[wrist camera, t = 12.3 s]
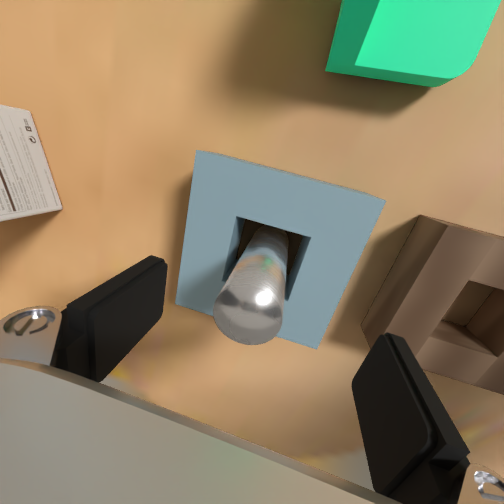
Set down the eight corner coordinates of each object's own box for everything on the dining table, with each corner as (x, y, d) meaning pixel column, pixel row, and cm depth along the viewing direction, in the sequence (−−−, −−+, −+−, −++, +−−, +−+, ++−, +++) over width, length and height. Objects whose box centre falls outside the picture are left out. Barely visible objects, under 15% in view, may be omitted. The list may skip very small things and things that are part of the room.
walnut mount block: (571, 255, 17) (636, 276, 14) (479, 362, 21) (513, 397, 18) (420, 214, 18) (448, 225, 15) (360, 325, 22) (372, 353, 19)
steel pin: (293, 230, 20) (291, 297, 10) (282, 262, 21) (271, 353, 11) (257, 220, 20) (219, 275, 10) (249, 252, 21) (207, 332, 11)
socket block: (364, 192, 18) (386, 200, 14) (312, 315, 22) (316, 349, 18) (218, 153, 19) (196, 149, 15) (196, 279, 23) (175, 304, 19)
